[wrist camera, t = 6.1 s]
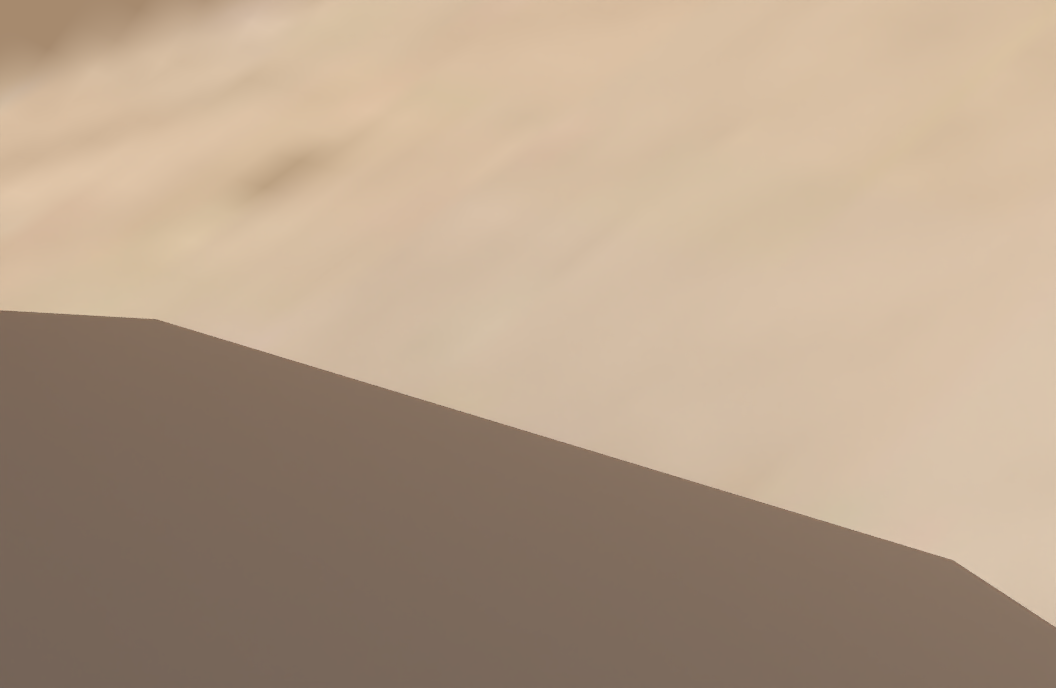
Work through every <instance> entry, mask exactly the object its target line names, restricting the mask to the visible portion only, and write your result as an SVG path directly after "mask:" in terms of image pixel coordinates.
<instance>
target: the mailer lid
mask: <svg viewBox="0 0 1056 688" xmlns="http://www.w3.org/2000/svg"><path fill="white" fill-rule="evenodd" d="M0 688H1056V627H1054V626H1053V625H1051V624H1049V623H1048V622H1046V621H1045V620H1043V619H1042V618H1040V617H1039V616H1037V615H1036V614H1034V613H1033V612H1031V611H1030V610H1028V609H1027V608H1025V607H1024V606H1022V605H1020V604H1019V603H1017V602H1016V601H1014V600H1013V599H1011V598H1010V597H1008V596H1007V595H1005V594H1004V593H1002V592H1001V591H999V590H998V589H996V588H994V587H993V586H991V585H990V584H988V583H987V582H985V581H984V580H982V579H981V578H979V577H978V576H976V575H975V574H973V573H972V572H970V571H968V570H967V569H965V568H964V567H962V566H961V565H959V564H958V563H956V562H955V561H953V560H950V559H947V558H943V557H940V556H937V555H933V554H930V553H927V552H924V551H920V550H917V549H914V548H910V547H907V546H904V545H900V544H897V543H894V542H890V541H887V540H884V539H881V538H877V537H874V536H871V535H867V534H864V533H861V532H857V531H854V530H851V529H847V528H844V527H841V526H838V525H834V524H831V523H828V522H824V521H821V520H818V519H814V518H811V517H808V516H804V515H801V514H798V513H795V512H791V511H788V510H785V509H781V508H778V507H775V506H771V505H768V504H765V503H762V502H758V501H755V500H752V499H748V498H745V497H742V496H738V495H735V494H732V493H728V492H725V491H722V490H719V489H715V488H712V487H709V486H705V485H702V484H699V483H695V482H692V481H689V480H685V479H682V478H679V477H676V476H672V475H669V474H666V473H662V472H659V471H656V470H652V469H649V468H646V467H642V466H639V465H636V464H633V463H629V462H626V461H623V460H619V459H616V458H613V457H609V456H606V455H603V454H599V453H596V452H593V451H590V450H586V449H583V448H580V447H576V446H573V445H570V444H566V443H563V442H560V441H557V440H553V439H550V438H547V437H543V436H540V435H537V434H533V433H530V432H527V431H523V430H520V429H517V428H514V427H510V426H507V425H504V424H500V423H497V422H494V421H490V420H487V419H484V418H480V417H477V416H474V415H471V414H467V413H464V412H461V411H457V410H454V409H451V408H447V407H444V406H441V405H437V404H434V403H431V402H428V401H424V400H421V399H418V398H414V397H411V396H408V395H404V394H401V393H398V392H394V391H391V390H388V389H385V388H381V387H378V386H375V385H371V384H368V383H365V382H361V381H358V380H355V379H352V378H348V377H345V376H342V375H338V374H335V373H332V372H328V371H325V370H322V369H318V368H315V367H312V366H309V365H305V364H302V363H299V362H295V361H292V360H289V359H285V358H282V357H279V356H275V355H272V354H269V353H266V352H262V351H259V350H256V349H252V348H249V347H246V346H242V345H239V344H236V343H232V342H229V341H226V340H223V339H219V338H216V337H213V336H209V335H206V334H203V333H199V332H196V331H193V330H189V329H186V328H183V327H180V326H176V325H173V324H170V323H166V322H163V321H160V320H156V319H139V318H122V317H105V316H87V315H70V314H53V313H35V312H18V311H0Z"/></svg>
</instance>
